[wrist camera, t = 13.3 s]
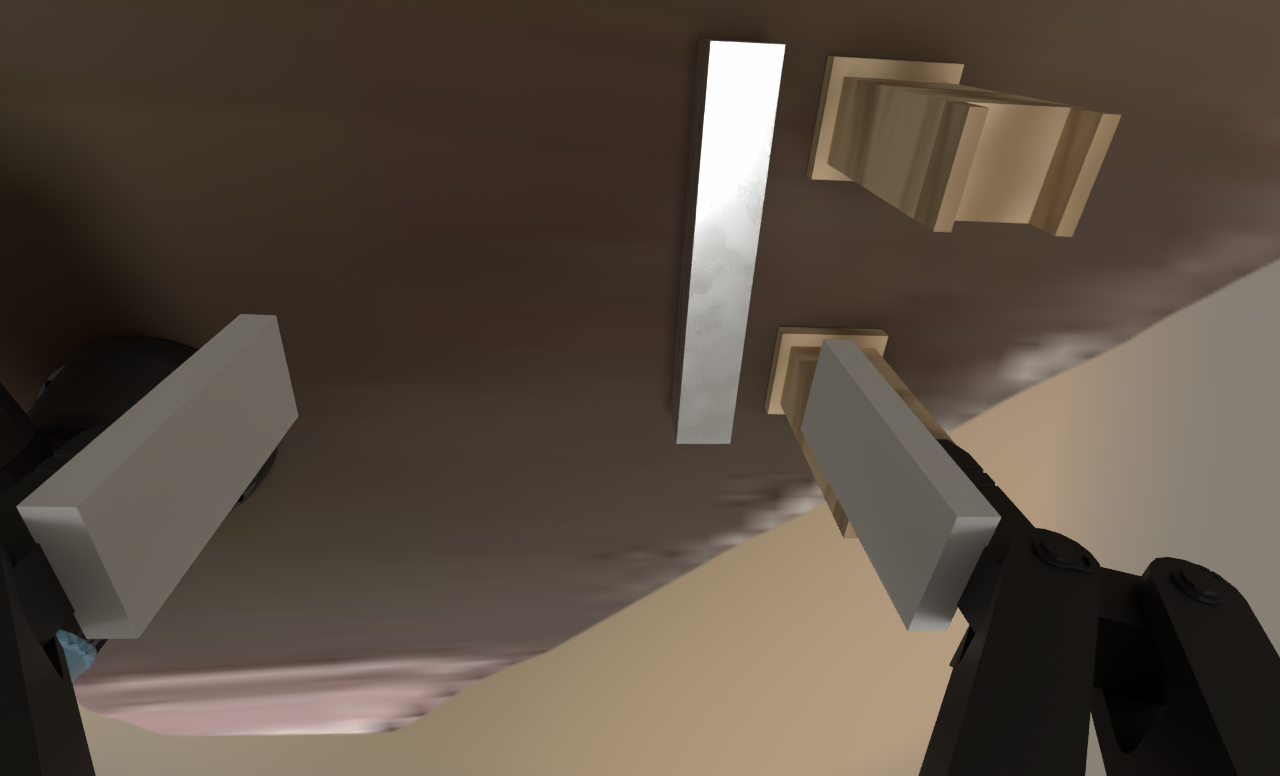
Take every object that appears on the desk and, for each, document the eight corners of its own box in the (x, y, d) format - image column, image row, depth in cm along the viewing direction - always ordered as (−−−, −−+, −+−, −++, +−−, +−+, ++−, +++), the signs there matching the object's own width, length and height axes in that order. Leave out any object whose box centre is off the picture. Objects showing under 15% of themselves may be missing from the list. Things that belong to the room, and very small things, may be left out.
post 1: (764, 405, 51) (826, 550, 37) (778, 326, 47) (853, 454, 33) (860, 407, 51) (957, 550, 38) (881, 329, 48) (997, 455, 34)
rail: (669, 407, 51) (676, 443, 46) (698, 38, 38) (710, 41, 33) (718, 407, 51) (730, 443, 47) (763, 41, 38) (785, 44, 33)
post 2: (806, 175, 42) (909, 253, 28) (828, 55, 38) (958, 77, 24) (922, 180, 42) (1080, 259, 28) (954, 63, 39) (1151, 88, 25)
